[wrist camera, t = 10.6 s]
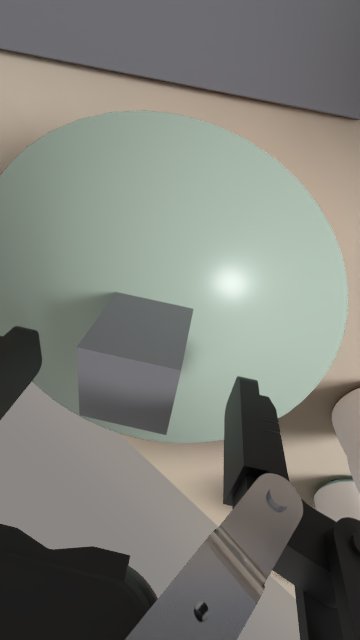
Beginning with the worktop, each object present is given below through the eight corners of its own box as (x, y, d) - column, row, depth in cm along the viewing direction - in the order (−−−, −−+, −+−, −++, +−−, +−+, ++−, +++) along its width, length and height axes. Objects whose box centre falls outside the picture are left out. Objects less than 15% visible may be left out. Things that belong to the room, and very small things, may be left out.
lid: (-55, 69, 10) (-258, 19, 6) (433, 165, 9) (595, 187, 5) (18, 396, 19) (-40, 467, 15) (265, 453, 19) (276, 543, 15)
